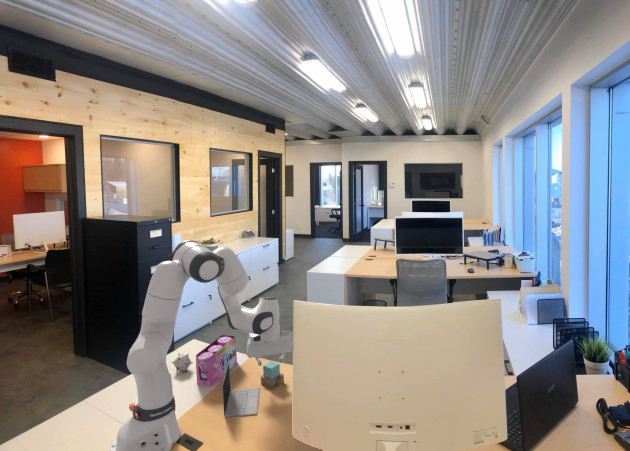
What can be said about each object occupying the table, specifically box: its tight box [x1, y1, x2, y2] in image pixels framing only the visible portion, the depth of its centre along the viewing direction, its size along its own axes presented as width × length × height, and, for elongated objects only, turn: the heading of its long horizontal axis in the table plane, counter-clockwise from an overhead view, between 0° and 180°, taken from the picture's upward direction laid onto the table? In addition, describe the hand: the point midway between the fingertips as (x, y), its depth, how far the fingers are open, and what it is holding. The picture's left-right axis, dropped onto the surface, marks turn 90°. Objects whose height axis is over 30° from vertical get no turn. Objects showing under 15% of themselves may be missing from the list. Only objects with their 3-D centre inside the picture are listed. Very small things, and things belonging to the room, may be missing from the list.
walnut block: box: [260, 372, 285, 390], centre depth 167 cm, size 7×7×4 cm
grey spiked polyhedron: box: [171, 353, 194, 373], centre depth 180 cm, size 9×8×10 cm
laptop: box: [221, 363, 260, 418], centre depth 153 cm, size 18×12×13 cm
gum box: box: [195, 334, 238, 387], centre depth 176 cm, size 24×8×14 cm, turn 163°
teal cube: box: [262, 360, 281, 380], centre depth 166 cm, size 5×5×5 cm
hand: (270, 363), depth 166 cm, fingers open, 8 cm apart
